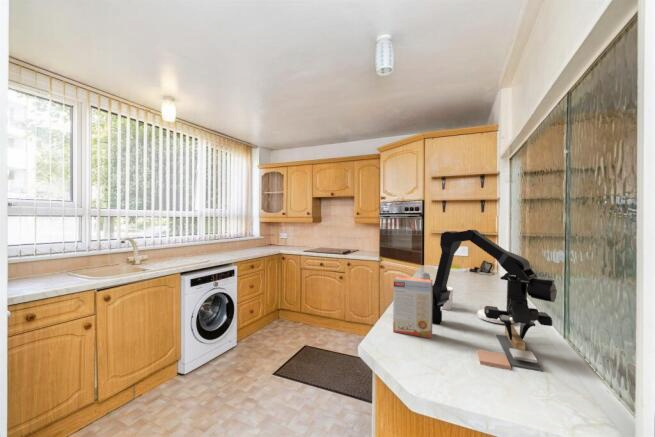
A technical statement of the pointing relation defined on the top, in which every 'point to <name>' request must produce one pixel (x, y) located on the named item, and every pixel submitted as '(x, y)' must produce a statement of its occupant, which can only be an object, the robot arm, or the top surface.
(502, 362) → the tile
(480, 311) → the white gear
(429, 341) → the top surface
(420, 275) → the energy drink can
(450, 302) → the white cup
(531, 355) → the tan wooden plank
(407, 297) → the cracker box
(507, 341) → the mat
